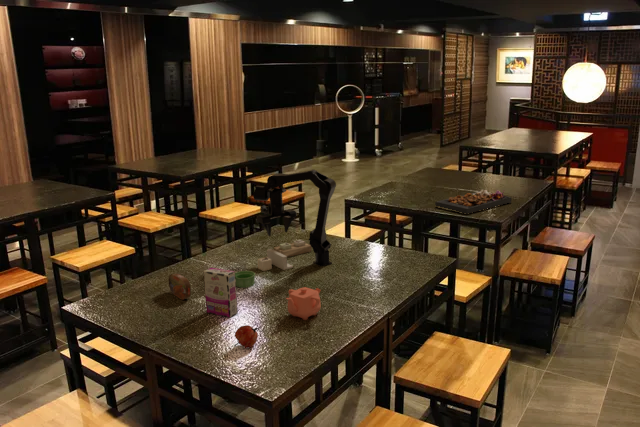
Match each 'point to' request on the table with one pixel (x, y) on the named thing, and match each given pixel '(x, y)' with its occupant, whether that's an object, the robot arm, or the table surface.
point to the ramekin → (244, 278)
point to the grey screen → (278, 259)
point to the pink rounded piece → (304, 302)
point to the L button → (285, 246)
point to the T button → (299, 243)
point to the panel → (294, 250)
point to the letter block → (264, 264)
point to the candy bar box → (220, 292)
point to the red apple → (246, 336)
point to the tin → (179, 286)
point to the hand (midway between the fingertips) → (277, 234)
